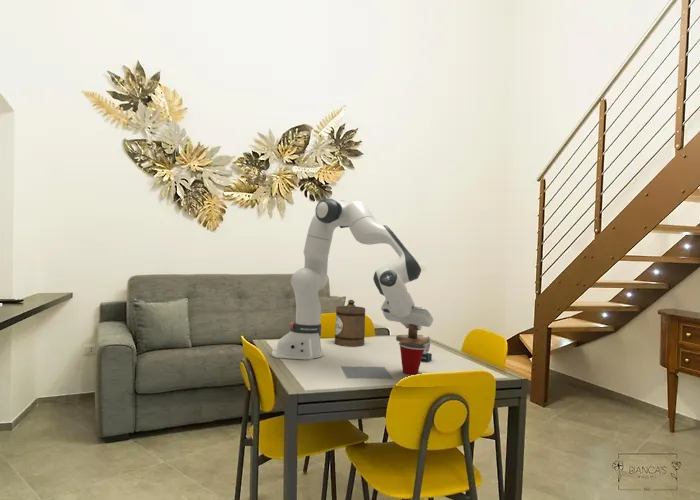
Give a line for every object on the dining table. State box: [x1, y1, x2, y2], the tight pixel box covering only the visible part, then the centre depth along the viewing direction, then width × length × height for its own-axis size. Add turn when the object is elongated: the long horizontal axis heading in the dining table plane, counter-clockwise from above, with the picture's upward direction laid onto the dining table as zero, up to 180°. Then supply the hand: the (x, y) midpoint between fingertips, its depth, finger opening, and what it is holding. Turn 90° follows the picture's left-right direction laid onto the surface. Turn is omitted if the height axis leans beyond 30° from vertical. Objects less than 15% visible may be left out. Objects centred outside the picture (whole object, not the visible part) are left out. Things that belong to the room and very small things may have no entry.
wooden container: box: [334, 299, 366, 347], centre depth 269 cm, size 15×15×22 cm
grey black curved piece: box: [421, 335, 433, 363], centre depth 240 cm, size 6×8×11 cm
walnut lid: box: [395, 324, 429, 344], centre depth 214 cm, size 13×13×8 cm
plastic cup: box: [398, 342, 426, 376], centre depth 214 cm, size 11×11×12 cm
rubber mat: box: [341, 365, 394, 380], centre depth 212 cm, size 18×18×1 cm
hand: (413, 328), depth 215 cm, fingers closed on walnut lid, 4 cm apart
